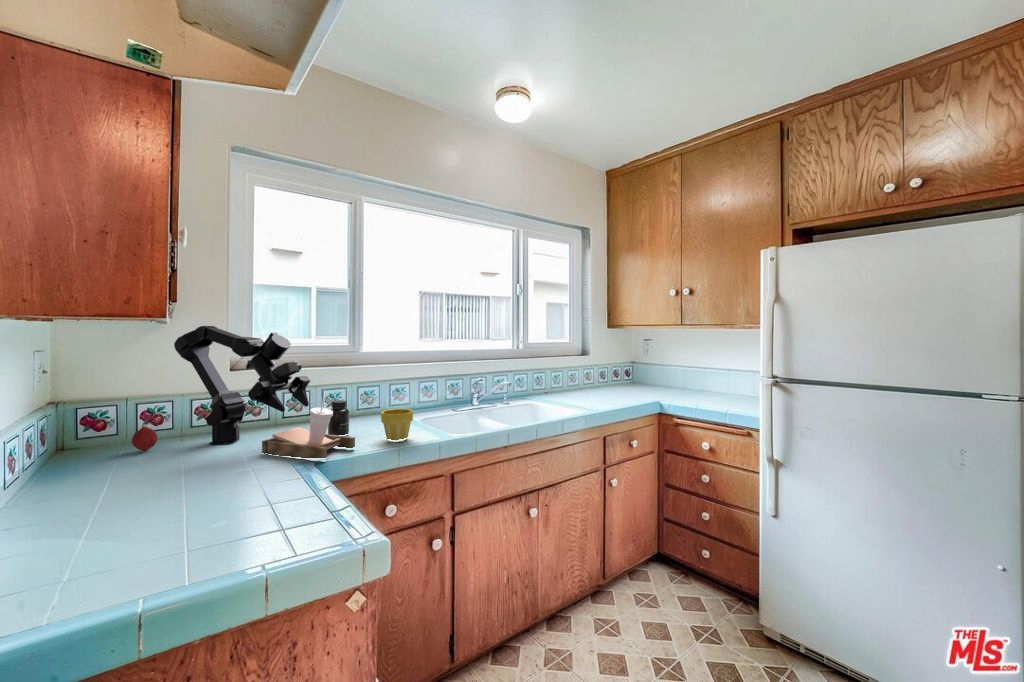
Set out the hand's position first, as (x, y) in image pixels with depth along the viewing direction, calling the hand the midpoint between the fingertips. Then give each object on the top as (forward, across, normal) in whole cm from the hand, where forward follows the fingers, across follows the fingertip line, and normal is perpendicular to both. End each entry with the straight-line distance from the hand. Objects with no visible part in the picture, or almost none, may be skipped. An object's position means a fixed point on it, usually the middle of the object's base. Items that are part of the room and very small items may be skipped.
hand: (296, 408), depth 129 cm
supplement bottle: (+9, +19, +10) cm, 23 cm away
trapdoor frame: (+13, 0, +6) cm, 14 cm away
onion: (-19, -16, +38) cm, 45 cm away
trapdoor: (+11, 0, +6) cm, 13 cm away
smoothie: (+12, 0, +2) cm, 12 cm away
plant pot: (+24, +22, -6) cm, 33 cm away
